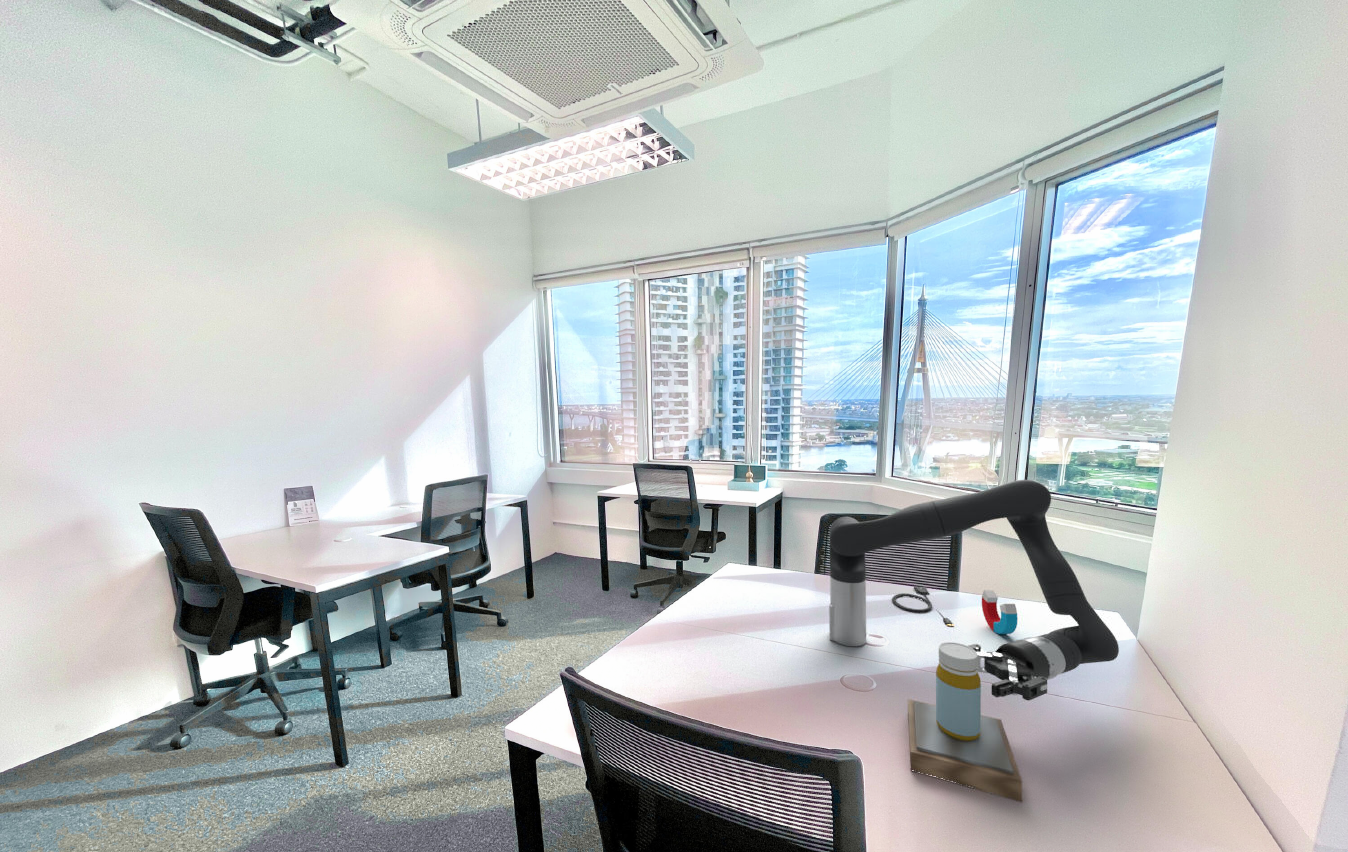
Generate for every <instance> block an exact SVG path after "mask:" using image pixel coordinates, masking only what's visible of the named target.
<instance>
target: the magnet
mask: <svg viewBox="0 0 1348 852" xmlns="http://www.w3.org/2000/svg"><path fill="white" fill-rule="evenodd" d="M998 599H999V597H998V596H997V594H996V592H995V590H993V589H984V590H983V591H982V595H981V608H982V613H983V617H984V620H985V622H986V623H987V625H988V626H989V628H990V629H991V630H992V631H993V632H994V633H996V634H1000V635H1011V634H1013V633H1014V632H1015V631H1016V629H1017V626H1018V621H1019V619H1018V612H1017V611H1018V610H1017V607H1016V604H1015V603H1003V604H1000V605H999V609H1000V615H999V611H998V606H997V605H998V603H997V602H998Z"/></svg>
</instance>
